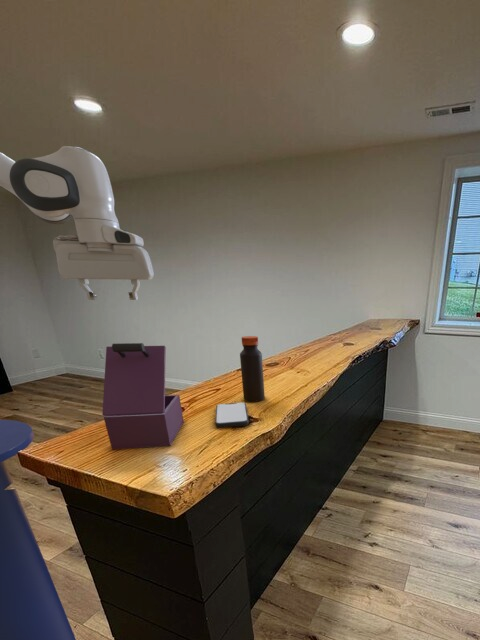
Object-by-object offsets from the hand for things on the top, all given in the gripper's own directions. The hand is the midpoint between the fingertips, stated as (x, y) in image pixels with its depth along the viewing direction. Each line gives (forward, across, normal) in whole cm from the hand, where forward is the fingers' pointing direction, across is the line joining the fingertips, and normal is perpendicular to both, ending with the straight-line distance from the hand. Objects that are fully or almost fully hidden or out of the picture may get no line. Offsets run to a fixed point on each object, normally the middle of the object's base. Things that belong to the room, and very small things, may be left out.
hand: (113, 299), depth 86 cm
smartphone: (+31, +26, -4) cm, 41 cm away
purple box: (+31, +7, -14) cm, 35 cm away
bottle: (+31, +32, +12) cm, 46 cm away
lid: (+17, +7, -17) cm, 24 cm away
